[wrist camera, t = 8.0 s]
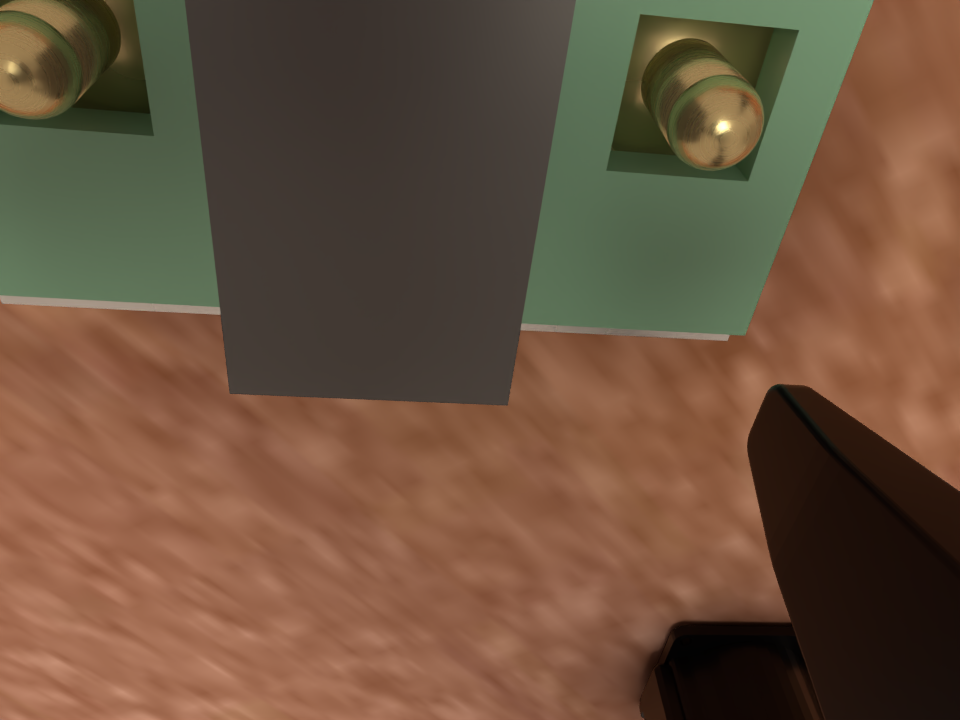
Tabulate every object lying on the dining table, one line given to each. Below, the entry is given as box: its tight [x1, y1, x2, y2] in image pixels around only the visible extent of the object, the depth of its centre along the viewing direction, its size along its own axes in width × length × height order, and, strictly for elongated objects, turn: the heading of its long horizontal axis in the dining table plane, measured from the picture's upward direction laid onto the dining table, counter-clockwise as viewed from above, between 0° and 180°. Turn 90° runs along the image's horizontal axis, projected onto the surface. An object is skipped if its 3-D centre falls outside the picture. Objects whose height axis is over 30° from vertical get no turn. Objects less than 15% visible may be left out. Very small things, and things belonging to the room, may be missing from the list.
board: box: [0, 0, 874, 405], centre depth 12 cm, size 16×10×6 cm, turn 84°
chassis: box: [0, 0, 774, 341], centre depth 14 cm, size 18×14×6 cm
